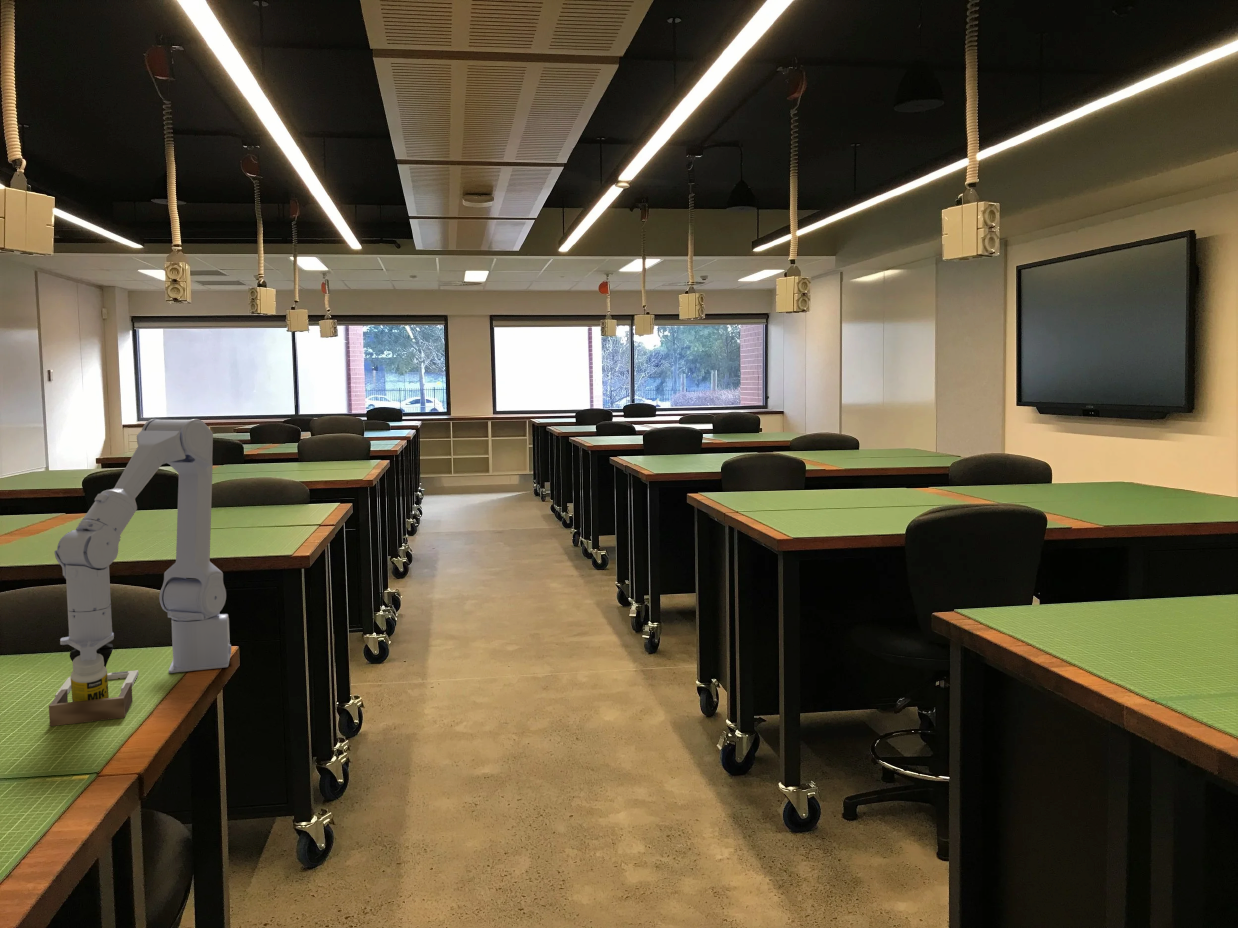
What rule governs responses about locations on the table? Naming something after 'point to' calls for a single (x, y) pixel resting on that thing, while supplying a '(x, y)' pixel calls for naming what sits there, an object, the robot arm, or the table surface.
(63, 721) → the holder
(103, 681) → the supplement bottle
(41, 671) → the table surface
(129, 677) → the dock
